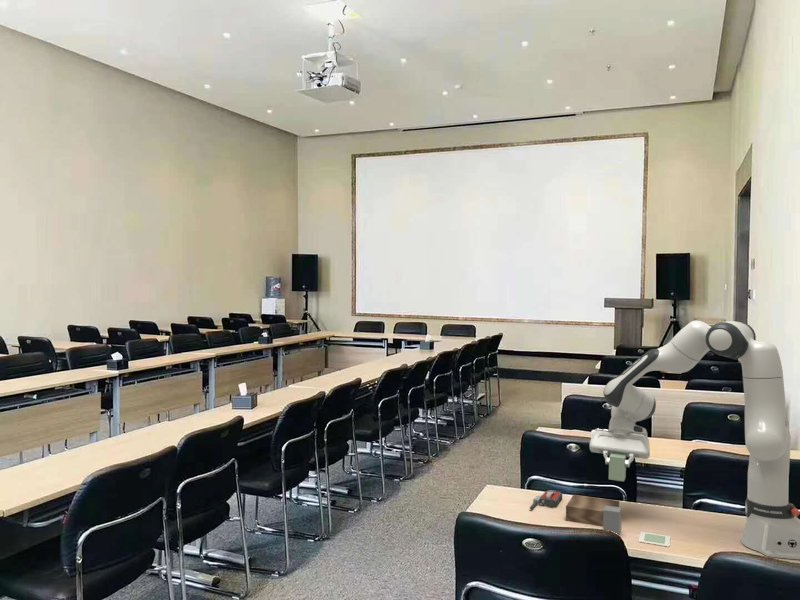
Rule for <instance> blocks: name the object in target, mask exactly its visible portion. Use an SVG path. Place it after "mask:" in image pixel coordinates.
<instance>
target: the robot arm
mask: <svg viewBox="0 0 800 600" xmlns="http://www.w3.org/2000/svg"><path fill="white" fill-rule="evenodd" d="M756 338H757V336H756V332H755V330H754V329H753V327H752V326H751V325H749V324H748V323H746V322H744V321H740V320H739V321H738V320H737V321H736V320H735V321H734V320H725V321H722V322H717V323H715V324H713V325H712V326H711V325H710V324H708V323H707V322H705V321H701V320H692V321H690V322H688V324H686V325H685V326H684V327H682V328H681V329H680V330H679V331H678V332H677V333H676V334H675V335H674V336H673V337H672V339H670V341H669V342H668V343H666V344H665V345H663V346H661V347H658V348H652V349H649V350H648V351H646V352H645V353H644V354H643V355H641V356H640V357H638V359H636V360H635V361H634V362H633V363H632V364H631V365H630V366H628V367H627V368H626V369H624V370H623V371H622V372H621V373H620V374H619V375H617V376H615V377H613V378H612V379H611V380H609V381H608V382H607V383H606V385H605V386H604V388H603V396H604V399H605V403H607V405H610V406H611V410H610V411H611V412H610V416H611V418H610V420H609V424H608V429H606V428H599V427H598V428H595V429H592V430H591V431H590V441H589V444H588V445H589V451H590V452H591V453H596V454H603V457H604V460H605V461H604V462H605V465H608V466H609V457H608V456H609V455H610V454H611V453H615V454H623V455H626V458H628V459H626V460H625V467H626V468H630V466H631V464H632V462H633V461H634V459H635V458H636V459H643V460H648V459H649V458H650V457H651V453H650V449H651V448H650V441H649V438H648V431H647V429H646V428H645V427H643V426H640V425H637V424H636V423H637V422H642V421H644V420H647V419H650V418H651V417H652V416H653V415H654V413H655V412H656V408H657V407H656V406H657V405H656V398H655V396H654V395H652V394H650V393H648V392H647V391H645V390H643V389H641V388H639V387H637V386H636V385H633V384H635V383H636V382H637V381H638V380H639V379H641V378H642V377H643V376H644V375H645V374H647V373H649V372H653V371H658V372H659V371H660V372H667V373H672V374H682V373H687V372H690V371H691V370H692V369H693V368H694V367H696V366H697V364H699V362H700V361H701V360H702V359H703V357H704V356H705V355H707V353H708V352H710V351H711V352H712V353H714V354H716V355H718V356H720V357H721V356H722V357H725V358H729V359H733V360H739V362H740V364H741V370H742V372H741V373H742V384H743V394H744V395H743V397H744V440H745V441H744V443H745V447H746V450H747V451H748V453H749V459H748V467H747V497H746V498H745V504H744V505H745V509H744V511H745V515H746V519H745V520H746V522H745V526H744V531H743V534H742V538H741V539H740V542H741V543H742V544H743V546H745V547H747V548H749V549H751V550H753V551H756V552H757V553H758V552H759V553H760V554H762V555H765V556H767V557H768V558H769V557H770V558H779V559H787V560H788V559H789V560H790V559H791V560H800V518H798V517H799V516H800V511H799V509H798V508H797V506H795V505H794V504H793V503H791V502H789V487H790V486H789V480H790V479H789V475H790V459H791V457H790V456H791V440H792V439H791V432H790V430H789V428H788V427H787V423H786V422H787V421H786V393H785V384H784V382H785V380H784V372H783V366H782V360H781V357H780V353H779V351H778V350H779V349H778V348H777V346H775V345H774V344H773V343H771V342H768V341H763V340H756Z"/></svg>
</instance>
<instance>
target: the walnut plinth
mask: <svg viewBox="0 0 800 600" xmlns="http://www.w3.org/2000/svg"><path fill="white" fill-rule="evenodd" d="M605 506H613V507H620V500H615V499H610V498H608V499H607V498H600V497H596V496H595V497H593V496H588V495H579V494H573V495H572V496H571V498H570V500H568V502H567V503H566V505H565V521H568V522H574V523H580V524H587V525H593V526H600V527H603V510H604V508H605Z"/></svg>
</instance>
